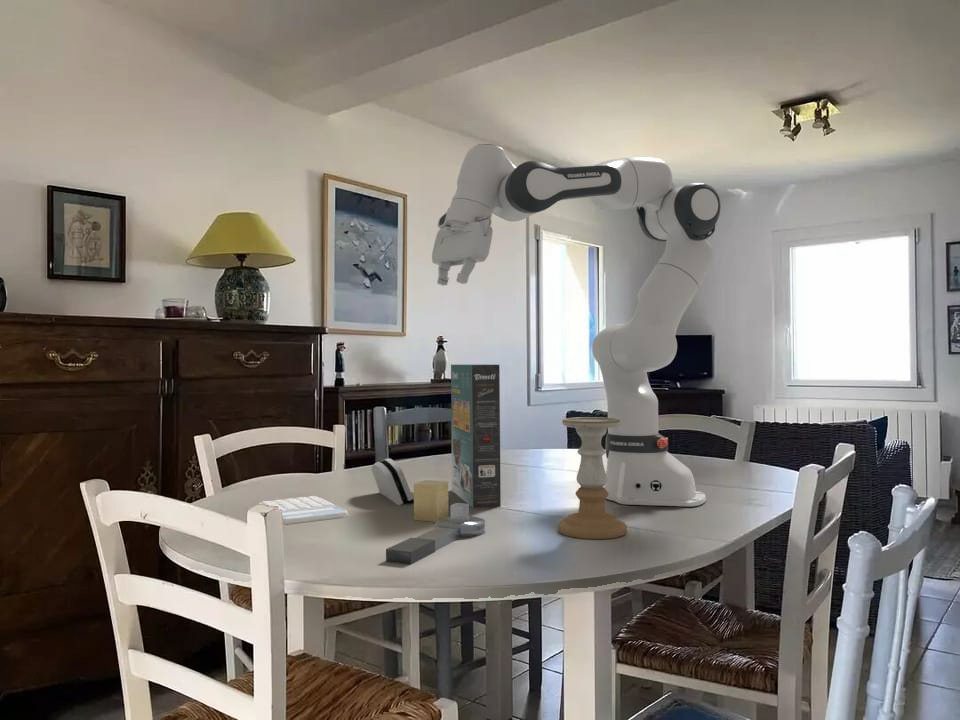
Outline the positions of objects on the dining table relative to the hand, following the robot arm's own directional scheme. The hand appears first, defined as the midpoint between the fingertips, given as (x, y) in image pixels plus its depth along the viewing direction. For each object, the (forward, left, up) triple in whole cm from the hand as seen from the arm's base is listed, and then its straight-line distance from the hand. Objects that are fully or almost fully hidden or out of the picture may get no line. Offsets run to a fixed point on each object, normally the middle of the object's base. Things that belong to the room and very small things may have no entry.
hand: (451, 283), depth 151 cm
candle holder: (-31, +7, -47) cm, 57 cm away
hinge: (+19, -8, -47) cm, 51 cm away
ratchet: (-9, +25, -47) cm, 54 cm away
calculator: (+29, +12, -47) cm, 57 cm away
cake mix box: (+2, -15, -47) cm, 49 cm away
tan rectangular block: (+1, +8, -47) cm, 47 cm away
